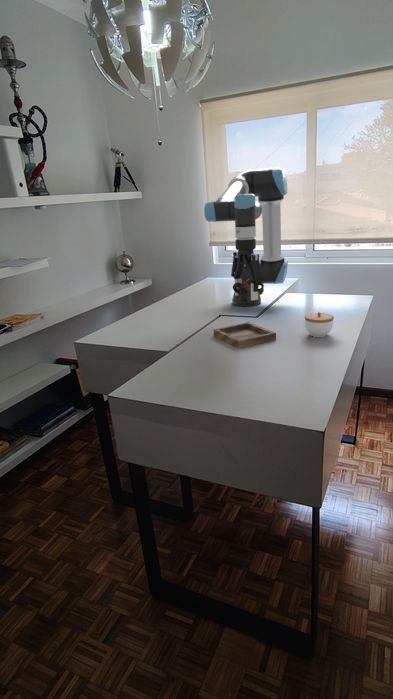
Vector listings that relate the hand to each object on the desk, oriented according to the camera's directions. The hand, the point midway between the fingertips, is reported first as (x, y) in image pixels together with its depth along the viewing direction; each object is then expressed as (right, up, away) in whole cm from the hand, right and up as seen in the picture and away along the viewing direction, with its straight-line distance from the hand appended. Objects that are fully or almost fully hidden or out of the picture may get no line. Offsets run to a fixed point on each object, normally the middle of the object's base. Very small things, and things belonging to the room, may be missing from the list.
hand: (246, 297), depth 162 cm
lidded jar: (+29, -15, +3) cm, 32 cm away
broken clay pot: (+1, 0, +1) cm, 2 cm away
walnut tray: (0, -15, +5) cm, 16 cm away
